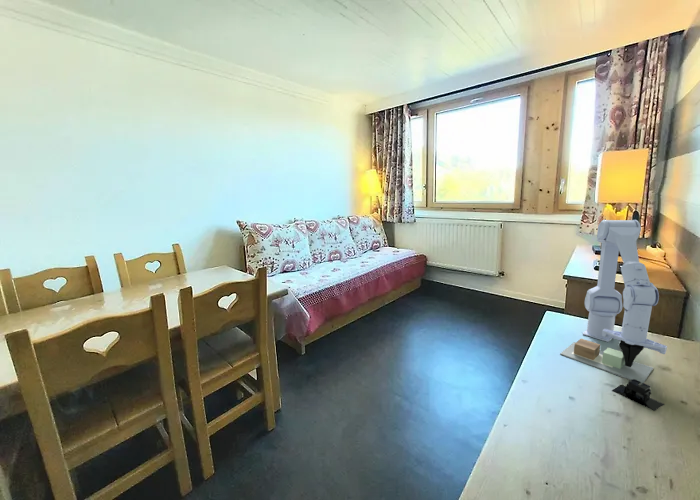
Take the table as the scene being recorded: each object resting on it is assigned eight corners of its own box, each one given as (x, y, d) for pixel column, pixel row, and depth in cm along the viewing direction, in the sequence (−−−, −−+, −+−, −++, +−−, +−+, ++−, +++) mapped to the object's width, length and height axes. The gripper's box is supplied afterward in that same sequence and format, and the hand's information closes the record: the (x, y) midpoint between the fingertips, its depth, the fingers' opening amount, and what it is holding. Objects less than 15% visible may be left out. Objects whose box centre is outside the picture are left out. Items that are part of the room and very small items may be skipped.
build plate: (574, 342, 114) (574, 341, 114) (653, 368, 97) (653, 367, 97) (560, 354, 107) (560, 353, 107) (642, 384, 90) (642, 383, 90)
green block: (606, 357, 103) (608, 347, 103) (624, 363, 100) (626, 353, 99) (601, 362, 101) (603, 352, 100) (620, 368, 97) (621, 358, 96)
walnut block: (579, 347, 110) (580, 338, 109) (599, 354, 105) (600, 344, 105) (573, 353, 107) (574, 343, 106) (593, 360, 102) (594, 350, 101)
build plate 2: (673, 409, 82) (677, 393, 81) (660, 419, 78) (663, 402, 77) (616, 382, 92) (619, 368, 91) (602, 390, 89) (605, 375, 88)
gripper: (601, 320, 98) (595, 360, 101) (666, 337, 86) (657, 381, 89) (608, 314, 102) (603, 352, 105) (671, 329, 90) (663, 372, 93)
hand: (628, 365), depth 97 cm, fingers closed
